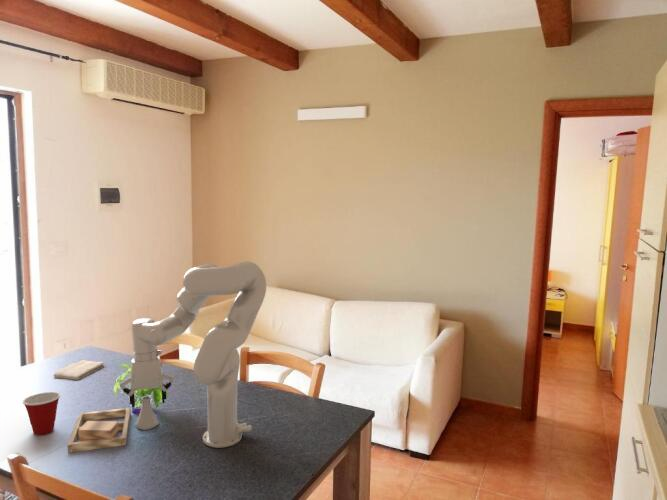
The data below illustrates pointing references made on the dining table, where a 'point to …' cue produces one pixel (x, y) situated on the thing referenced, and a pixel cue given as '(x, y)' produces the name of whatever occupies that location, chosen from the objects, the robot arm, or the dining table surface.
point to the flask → (146, 415)
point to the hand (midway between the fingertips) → (148, 403)
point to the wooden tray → (100, 443)
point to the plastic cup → (42, 411)
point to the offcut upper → (98, 430)
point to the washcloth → (78, 369)
